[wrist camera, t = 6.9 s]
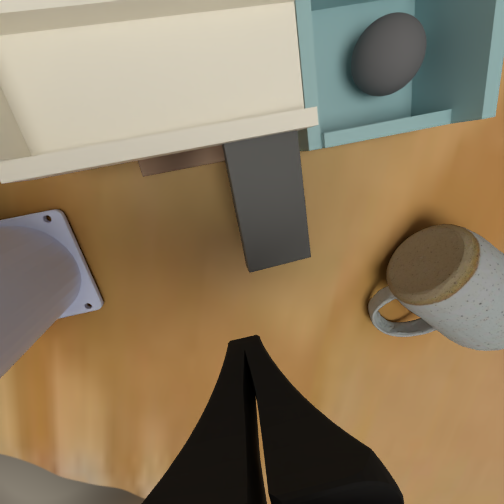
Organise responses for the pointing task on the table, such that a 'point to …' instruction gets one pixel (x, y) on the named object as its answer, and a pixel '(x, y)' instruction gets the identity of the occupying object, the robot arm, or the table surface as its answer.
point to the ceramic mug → (446, 288)
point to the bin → (423, 83)
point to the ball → (388, 54)
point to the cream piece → (162, 99)
